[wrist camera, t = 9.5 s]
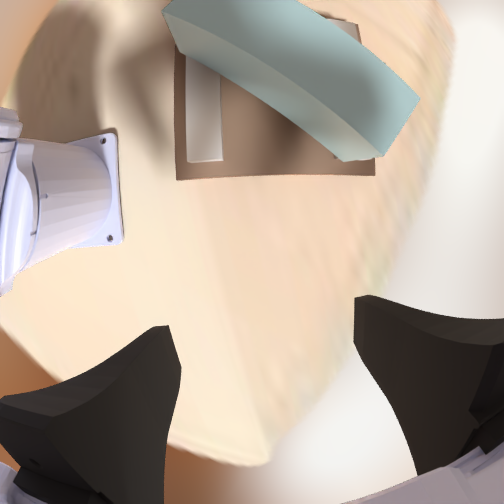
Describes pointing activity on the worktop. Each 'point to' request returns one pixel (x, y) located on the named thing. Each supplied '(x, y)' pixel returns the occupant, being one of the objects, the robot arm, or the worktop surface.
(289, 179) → the worktop surface
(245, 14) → the glasses case
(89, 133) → the worktop surface
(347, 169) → the display stand
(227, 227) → the worktop surface
